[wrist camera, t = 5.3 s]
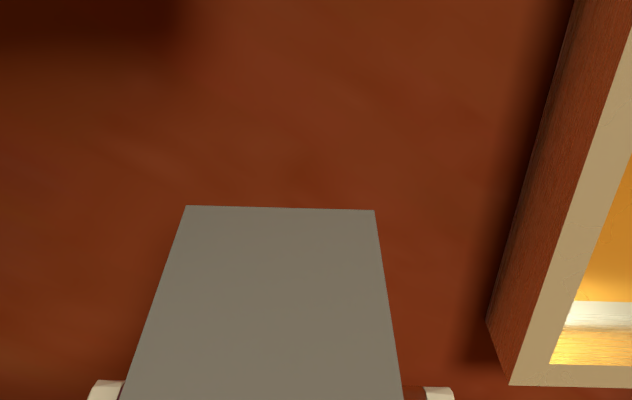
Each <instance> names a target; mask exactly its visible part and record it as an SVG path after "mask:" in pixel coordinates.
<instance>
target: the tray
mask: <svg viewBox="0 0 632 400" xmlns="http://www.w3.org/2000/svg"><path fill="white" fill-rule="evenodd" d="M485 322H486V325H487V328H488V331H489V333H490V336H491V339H492V342H493V344H494V347H495V350H496V353H497V355H498V358H499V361H500V364H501V366H502V369H503V372H504V375H505V377H506V380H507V383H508V385H521V386H561V387H601V388H632V0H575V1H574V4H573V8H572V12H571V15H570V19H569V22H568V26H567V29H566V33H565V36H564V40H563V43H562V47H561V51H560V54H559V58H558V61H557V65H556V68H555V72H554V75H553V79H552V83H551V86H550V90H549V93H548V97H547V100H546V104H545V107H544V111H543V115H542V118H541V122H540V125H539V129H538V132H537V136H536V139H535V143H534V146H533V150H532V154H531V157H530V161H529V164H528V168H527V171H526V175H525V178H524V182H523V186H522V189H521V193H520V196H519V200H518V203H517V207H516V210H515V214H514V218H513V221H512V225H511V228H510V232H509V235H508V239H507V242H506V246H505V249H504V253H503V257H502V260H501V264H500V267H499V271H498V274H497V278H496V281H495V285H494V289H493V292H492V296H491V299H490V303H489V306H488V310H487V313H486V317H485Z"/></svg>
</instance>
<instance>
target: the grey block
mask: <svg viewBox="0 0 632 400" xmlns="http://www.w3.org/2000/svg"><path fill="white" fill-rule="evenodd" d="M119 400H404V397H403V391H402V385H401V378H400V372H399V365H398V359H397V353H396V346H395V340H394V334H393V327H392V321H391V315H390V308H389V302H388V296H387V289H386V283H385V276H384V270H383V264H382V257H381V251H380V245H379V238H378V232H377V226H376V219H375V213H374V210H345V209H308V208H270V207H233V206H196V205H186V207H185V210H184V213H183V216H182V219H181V222H180V225H179V227H178V230H177V233H176V236H175V239H174V242H173V245H172V248H171V251H170V254H169V256H168V259H167V262H166V265H165V268H164V271H163V274H162V277H161V280H160V282H159V285H158V288H157V291H156V294H155V297H154V300H153V303H152V306H151V308H150V311H149V314H148V317H147V320H146V323H145V326H144V329H143V332H142V335H141V337H140V340H139V343H138V346H137V349H136V352H135V355H134V358H133V361H132V363H131V366H130V369H129V372H128V375H127V378H126V381H125V384H124V387H123V389H122V392H121V395H120V398H119Z"/></svg>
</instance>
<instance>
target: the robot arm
mask: <svg viewBox="0 0 632 400" xmlns="http://www.w3.org/2000/svg"><path fill="white" fill-rule="evenodd" d="M125 381H126V380H98V381H97V382H96V383H95V385H94V386H93V387H92V389H91V391H90V394H89V396H88V399H87V400H119V398H120V395H121V392H122V389H123V387H124V384H125ZM402 391H403V397H404V400H455V399H454V395H453V392H452V390H451V389H450V388H449V387H422V386H402Z"/></svg>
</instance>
